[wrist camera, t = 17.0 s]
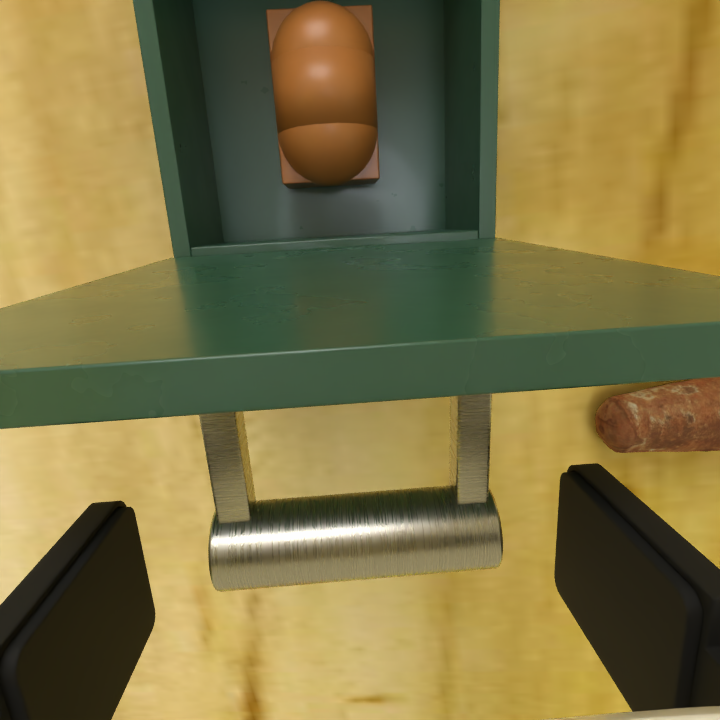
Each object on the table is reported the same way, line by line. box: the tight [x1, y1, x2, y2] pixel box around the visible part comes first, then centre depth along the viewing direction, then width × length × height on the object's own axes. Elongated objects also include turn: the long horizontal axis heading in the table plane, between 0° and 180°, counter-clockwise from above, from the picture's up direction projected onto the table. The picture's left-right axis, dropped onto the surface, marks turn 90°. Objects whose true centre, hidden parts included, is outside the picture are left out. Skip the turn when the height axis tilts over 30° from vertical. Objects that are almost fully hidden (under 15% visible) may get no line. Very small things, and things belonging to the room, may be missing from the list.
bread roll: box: [266, 1, 380, 189], centre depth 24 cm, size 8×5×5 cm, turn 3°
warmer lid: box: [0, 238, 720, 592], centre depth 15 cm, size 16×15×6 cm
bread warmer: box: [133, 0, 500, 258], centre depth 24 cm, size 16×15×8 cm
